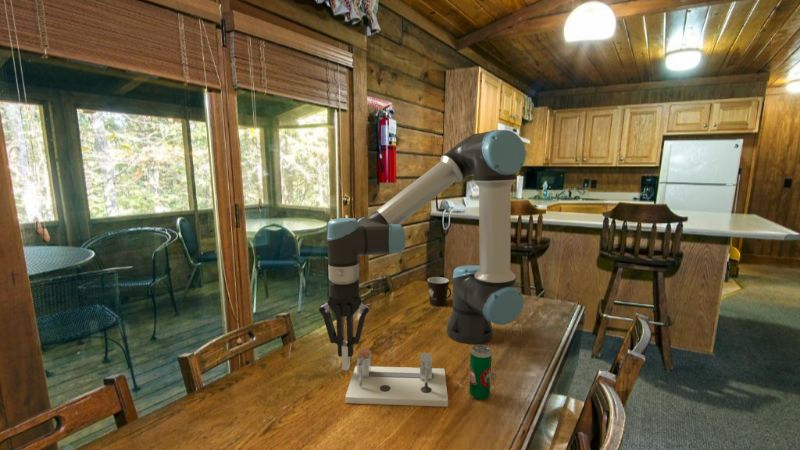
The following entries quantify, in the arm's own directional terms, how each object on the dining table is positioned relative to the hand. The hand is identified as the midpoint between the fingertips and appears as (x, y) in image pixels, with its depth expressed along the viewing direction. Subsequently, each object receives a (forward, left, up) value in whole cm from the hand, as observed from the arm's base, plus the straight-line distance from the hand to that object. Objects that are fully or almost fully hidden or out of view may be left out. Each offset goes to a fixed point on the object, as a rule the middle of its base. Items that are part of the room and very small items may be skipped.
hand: (346, 367), depth 97 cm
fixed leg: (-21, +2, -1) cm, 21 cm away
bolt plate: (-14, +3, -3) cm, 14 cm away
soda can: (-34, +5, -4) cm, 34 cm away
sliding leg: (-5, +2, -1) cm, 5 cm away
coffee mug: (-27, -55, -4) cm, 61 cm away
